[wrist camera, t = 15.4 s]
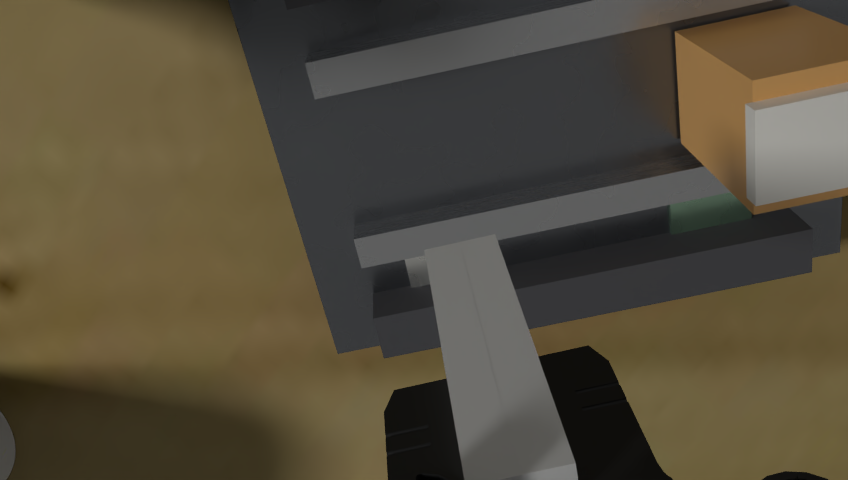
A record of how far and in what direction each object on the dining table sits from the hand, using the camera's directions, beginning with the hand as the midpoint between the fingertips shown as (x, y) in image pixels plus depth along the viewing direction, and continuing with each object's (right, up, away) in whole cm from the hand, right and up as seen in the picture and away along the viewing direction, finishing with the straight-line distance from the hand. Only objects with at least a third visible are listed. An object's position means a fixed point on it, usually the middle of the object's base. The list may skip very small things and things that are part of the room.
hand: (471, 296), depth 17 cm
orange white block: (+10, +7, +10) cm, 16 cm away
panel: (+4, +6, +12) cm, 14 cm away
